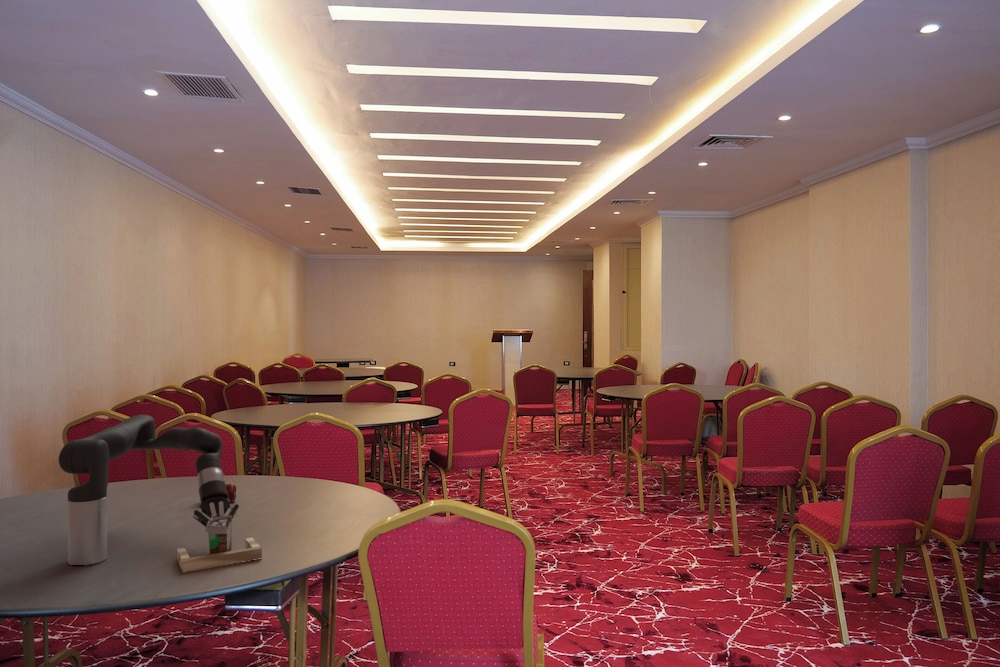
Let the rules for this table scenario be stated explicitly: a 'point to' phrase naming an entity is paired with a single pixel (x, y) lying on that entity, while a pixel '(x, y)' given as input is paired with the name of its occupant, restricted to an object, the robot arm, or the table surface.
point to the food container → (220, 534)
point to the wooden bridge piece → (219, 557)
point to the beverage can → (231, 492)
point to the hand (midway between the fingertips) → (220, 537)
